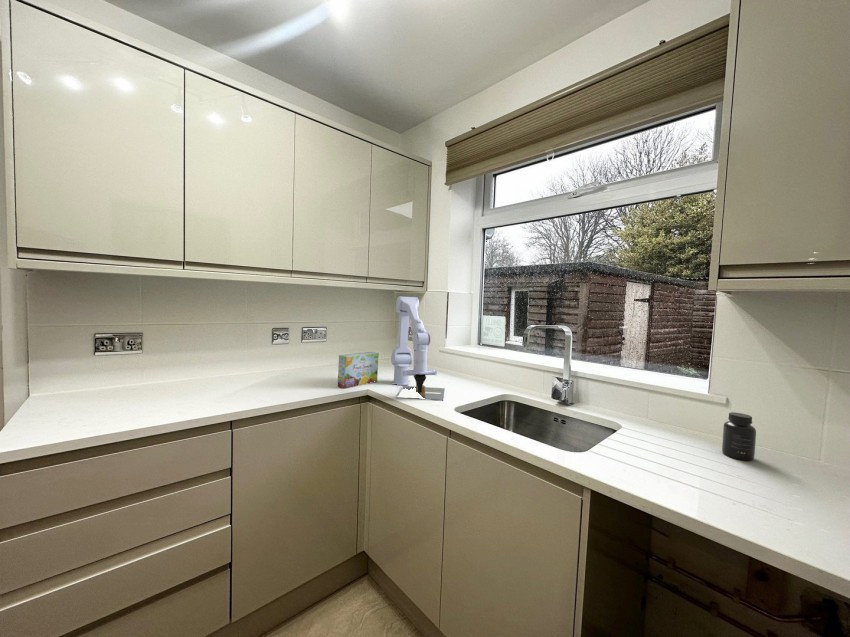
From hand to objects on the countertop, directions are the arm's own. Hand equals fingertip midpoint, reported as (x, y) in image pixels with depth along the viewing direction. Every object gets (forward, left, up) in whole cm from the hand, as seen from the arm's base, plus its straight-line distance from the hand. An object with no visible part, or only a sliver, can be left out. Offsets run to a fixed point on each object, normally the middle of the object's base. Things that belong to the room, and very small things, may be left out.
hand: (419, 392), depth 144 cm
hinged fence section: (-2, 0, -2) cm, 3 cm away
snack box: (-18, -32, -3) cm, 37 cm away
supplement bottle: (+40, +95, -3) cm, 103 cm away
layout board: (-8, -1, -3) cm, 8 cm away
